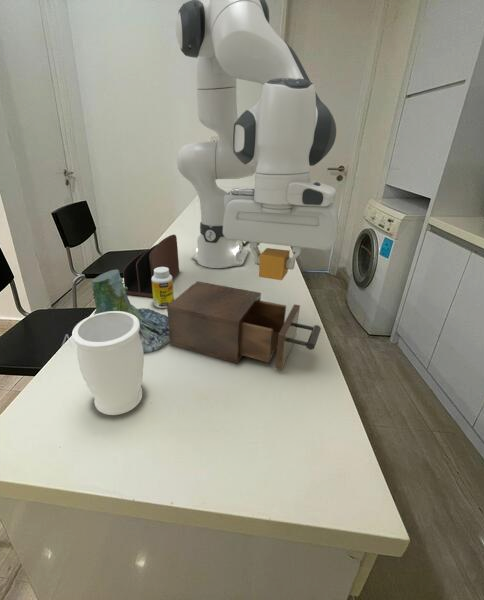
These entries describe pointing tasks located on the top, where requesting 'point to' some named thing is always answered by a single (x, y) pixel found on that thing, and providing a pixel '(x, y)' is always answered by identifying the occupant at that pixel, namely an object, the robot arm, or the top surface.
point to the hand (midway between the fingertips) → (274, 266)
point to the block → (273, 263)
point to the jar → (111, 360)
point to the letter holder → (151, 266)
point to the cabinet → (210, 319)
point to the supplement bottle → (162, 287)
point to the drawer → (272, 332)
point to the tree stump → (130, 310)
